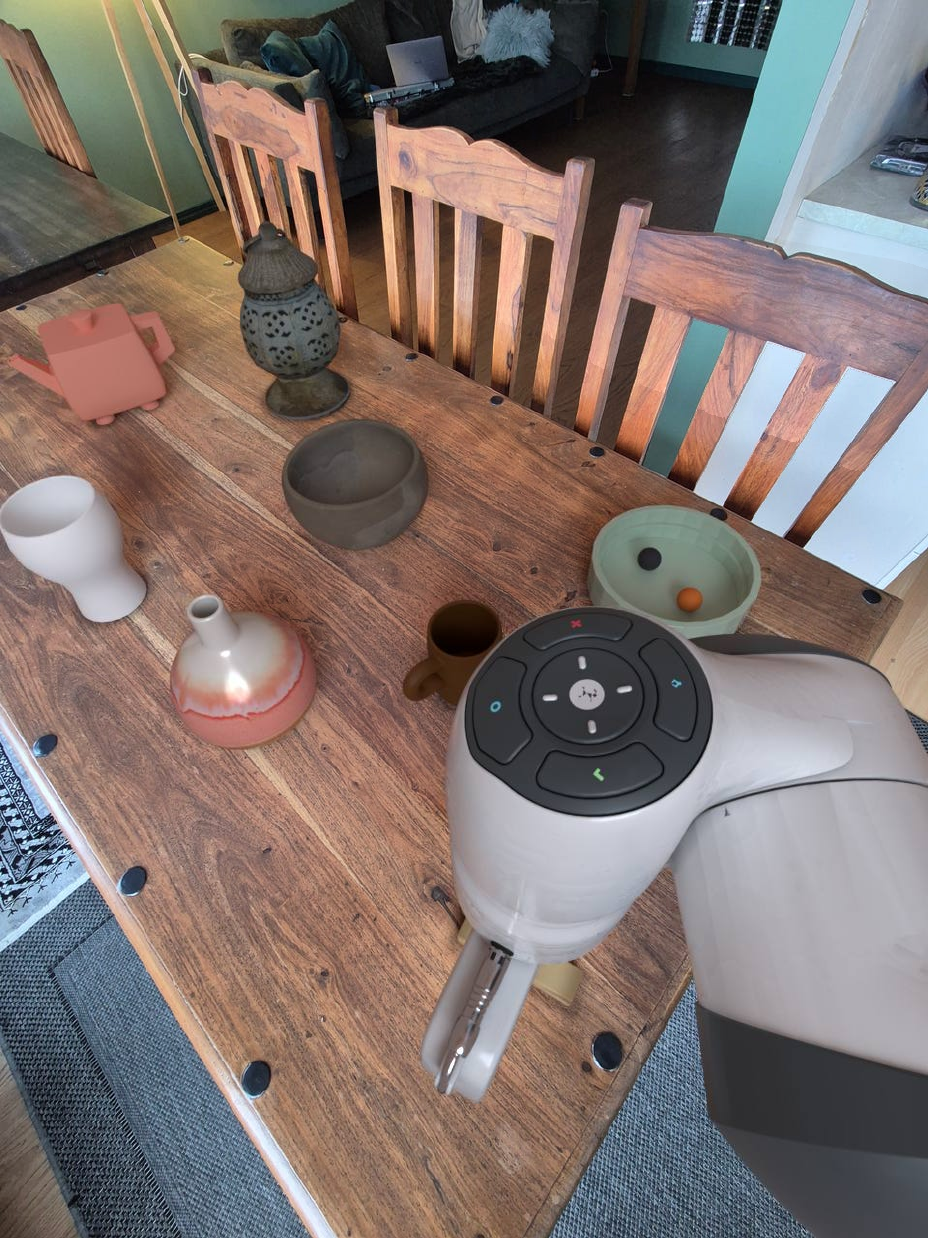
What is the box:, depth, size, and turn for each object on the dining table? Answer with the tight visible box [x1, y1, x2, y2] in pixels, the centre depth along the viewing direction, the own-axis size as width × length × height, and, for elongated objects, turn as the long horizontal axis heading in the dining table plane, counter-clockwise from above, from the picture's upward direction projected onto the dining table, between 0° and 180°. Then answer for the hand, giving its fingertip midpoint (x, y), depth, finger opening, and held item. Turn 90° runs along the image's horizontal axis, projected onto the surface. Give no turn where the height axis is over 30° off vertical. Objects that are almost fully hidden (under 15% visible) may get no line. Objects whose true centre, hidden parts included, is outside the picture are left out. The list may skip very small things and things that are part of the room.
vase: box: [169, 593, 318, 751], centre depth 61 cm, size 14×14×18 cm
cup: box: [0, 474, 147, 623], centre depth 71 cm, size 11×11×15 cm
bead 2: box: [677, 587, 703, 612], centre depth 73 cm, size 3×3×3 cm
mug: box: [401, 599, 504, 707], centre depth 65 cm, size 12×8×9 cm, turn 136°
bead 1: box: [638, 547, 662, 571], centre depth 77 cm, size 3×3×3 cm
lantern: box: [237, 220, 351, 422], centre depth 92 cm, size 14×14×25 cm
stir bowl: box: [586, 504, 762, 639], centre depth 74 cm, size 19×19×5 cm
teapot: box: [5, 302, 176, 426], centre depth 96 cm, size 22×13×14 cm, turn 121°
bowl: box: [281, 418, 430, 551], centre depth 81 cm, size 17×18×10 cm
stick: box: [456, 917, 585, 1007], centre depth 52 cm, size 10×2×3 cm, turn 62°
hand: (524, 921), depth 42 cm, fingers open, 8 cm apart
